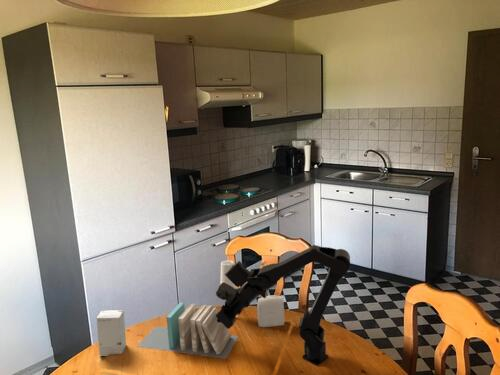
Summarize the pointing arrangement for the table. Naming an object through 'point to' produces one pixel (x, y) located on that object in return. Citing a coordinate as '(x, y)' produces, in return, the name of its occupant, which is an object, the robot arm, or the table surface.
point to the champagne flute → (224, 268)
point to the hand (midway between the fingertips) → (217, 321)
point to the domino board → (161, 342)
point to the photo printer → (270, 311)
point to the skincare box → (111, 332)
